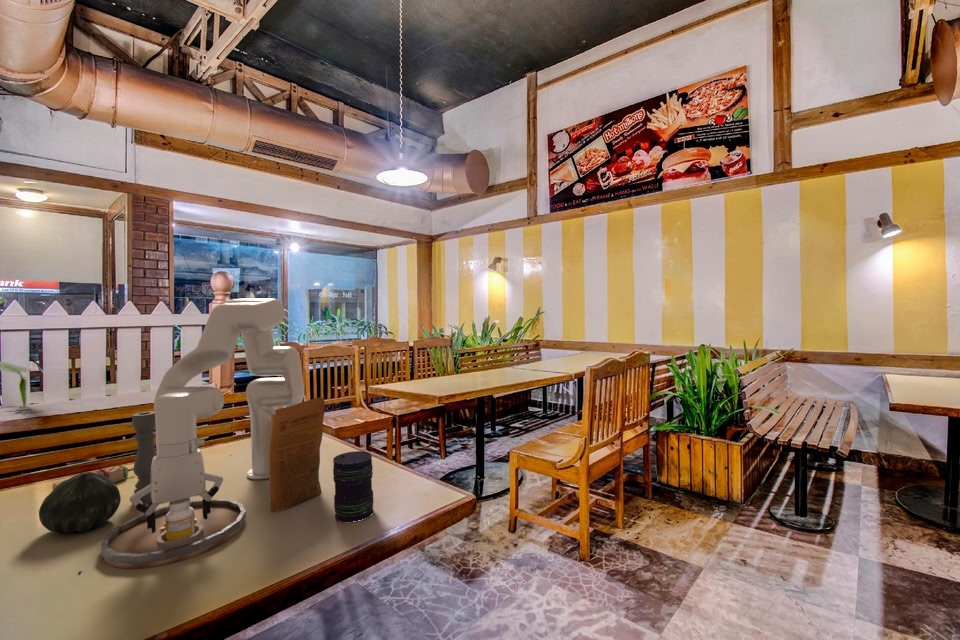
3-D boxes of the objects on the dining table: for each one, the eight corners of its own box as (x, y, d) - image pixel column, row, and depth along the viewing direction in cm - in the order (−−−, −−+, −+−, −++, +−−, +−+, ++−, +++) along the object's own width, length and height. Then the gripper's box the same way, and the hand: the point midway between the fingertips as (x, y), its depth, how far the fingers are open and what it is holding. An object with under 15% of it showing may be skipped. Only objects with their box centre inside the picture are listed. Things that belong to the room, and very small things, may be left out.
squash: (63, 496, 117) (44, 466, 108) (132, 488, 123) (119, 459, 114) (42, 551, 108) (19, 523, 98) (118, 539, 113) (103, 512, 104)
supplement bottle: (175, 538, 102) (174, 496, 102) (200, 536, 102) (198, 495, 102) (161, 550, 96) (159, 506, 96) (186, 549, 97) (185, 505, 97)
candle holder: (146, 505, 123) (143, 416, 123) (128, 503, 125) (125, 415, 124) (166, 495, 129) (163, 411, 129) (149, 494, 131) (145, 410, 130)
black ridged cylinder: (381, 508, 118) (379, 452, 117) (359, 525, 108) (357, 465, 108) (349, 503, 121) (348, 449, 121) (326, 520, 112) (324, 461, 111)
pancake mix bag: (334, 491, 130) (332, 396, 129) (275, 517, 114) (271, 410, 113) (319, 486, 133) (316, 395, 133) (260, 512, 117) (256, 407, 117)
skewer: (59, 500, 128) (58, 483, 128) (51, 496, 132) (50, 480, 132) (142, 476, 146) (141, 461, 146) (133, 473, 150) (132, 459, 150)
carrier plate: (235, 499, 125) (235, 486, 125) (254, 538, 103) (254, 523, 103) (107, 531, 109) (106, 516, 109) (96, 585, 86) (95, 567, 86)
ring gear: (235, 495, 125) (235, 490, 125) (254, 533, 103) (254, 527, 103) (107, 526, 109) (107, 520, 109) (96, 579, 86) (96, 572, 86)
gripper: (219, 437, 107) (222, 507, 107) (128, 452, 97) (131, 529, 97) (223, 444, 101) (226, 518, 101) (127, 461, 91) (130, 543, 91)
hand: (180, 523), depth 99 cm, fingers open, 9 cm apart
